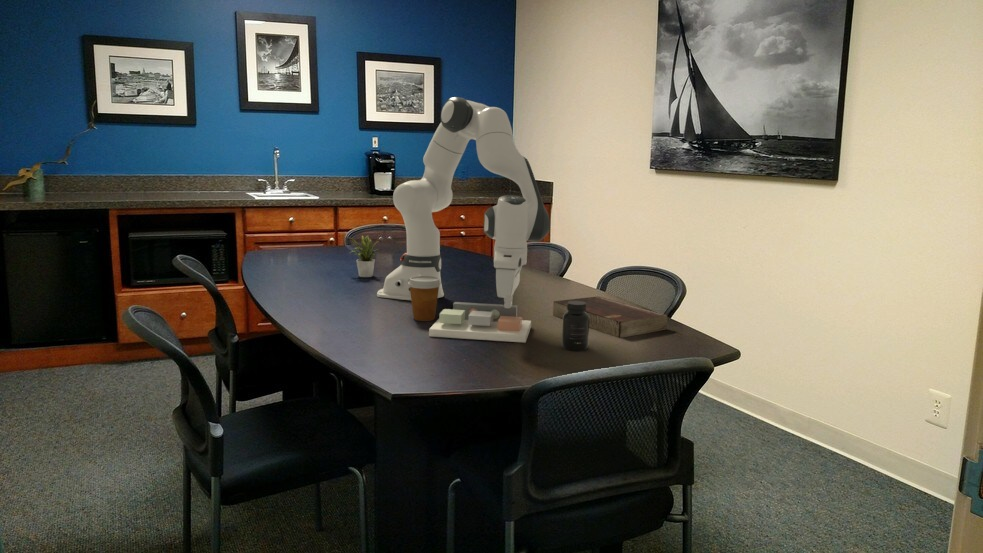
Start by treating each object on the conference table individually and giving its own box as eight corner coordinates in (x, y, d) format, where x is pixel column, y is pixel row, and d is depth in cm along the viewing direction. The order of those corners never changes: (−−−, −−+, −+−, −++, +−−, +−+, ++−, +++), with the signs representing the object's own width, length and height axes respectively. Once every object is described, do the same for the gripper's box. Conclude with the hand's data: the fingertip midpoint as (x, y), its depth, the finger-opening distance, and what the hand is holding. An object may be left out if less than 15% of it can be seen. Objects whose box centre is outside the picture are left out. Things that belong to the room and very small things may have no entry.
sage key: (439, 322, 193) (439, 313, 193) (443, 317, 199) (444, 308, 199) (460, 324, 192) (461, 315, 192) (465, 318, 198) (465, 310, 198)
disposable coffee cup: (415, 323, 204) (415, 282, 202) (403, 316, 212) (403, 276, 210) (445, 320, 208) (445, 280, 206) (432, 313, 216) (433, 274, 214)
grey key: (468, 324, 192) (468, 315, 192) (472, 319, 198) (472, 310, 198) (490, 325, 191) (490, 316, 191) (493, 320, 197) (493, 311, 197)
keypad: (429, 336, 191) (429, 312, 190) (441, 322, 206) (442, 300, 205) (525, 342, 187) (526, 318, 186) (531, 327, 203) (531, 305, 201)
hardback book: (667, 330, 205) (668, 314, 204) (619, 339, 194) (621, 321, 193) (598, 310, 228) (599, 295, 227) (552, 317, 218) (553, 301, 217)
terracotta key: (497, 329, 191) (497, 320, 191) (500, 324, 197) (500, 315, 197) (519, 331, 190) (519, 322, 190) (521, 325, 196) (522, 317, 196)
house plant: (341, 273, 278) (340, 231, 275) (375, 271, 284) (375, 230, 281) (350, 279, 266) (349, 236, 263) (386, 277, 271) (385, 235, 268)
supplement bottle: (559, 344, 186) (561, 299, 184) (584, 344, 187) (587, 299, 185) (564, 351, 180) (566, 305, 177) (590, 351, 180) (593, 305, 178)
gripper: (504, 250, 201) (501, 298, 203) (492, 262, 181) (490, 315, 183) (526, 251, 200) (523, 299, 202) (517, 263, 180) (515, 316, 182)
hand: (508, 307), depth 193 cm, fingers closed
